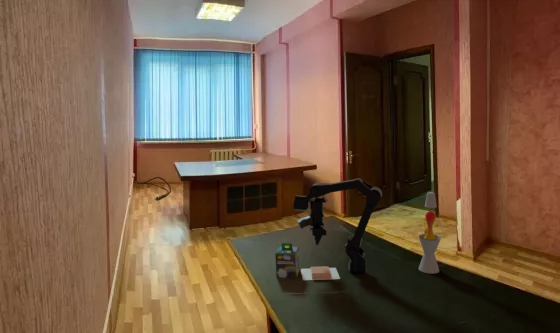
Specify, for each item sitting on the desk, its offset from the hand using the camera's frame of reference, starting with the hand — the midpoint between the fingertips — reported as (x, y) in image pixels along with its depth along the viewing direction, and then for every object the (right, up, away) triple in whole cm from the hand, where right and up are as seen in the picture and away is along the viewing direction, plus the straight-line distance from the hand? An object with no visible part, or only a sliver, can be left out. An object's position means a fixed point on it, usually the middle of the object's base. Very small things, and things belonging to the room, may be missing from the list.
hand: (316, 244), depth 173 cm
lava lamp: (+50, -11, -4) cm, 51 cm away
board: (+1, -12, -6) cm, 13 cm away
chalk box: (-13, -12, -5) cm, 19 cm away
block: (+1, -10, -5) cm, 11 cm away
